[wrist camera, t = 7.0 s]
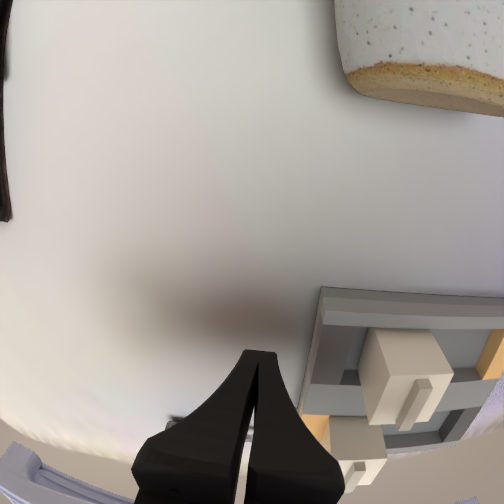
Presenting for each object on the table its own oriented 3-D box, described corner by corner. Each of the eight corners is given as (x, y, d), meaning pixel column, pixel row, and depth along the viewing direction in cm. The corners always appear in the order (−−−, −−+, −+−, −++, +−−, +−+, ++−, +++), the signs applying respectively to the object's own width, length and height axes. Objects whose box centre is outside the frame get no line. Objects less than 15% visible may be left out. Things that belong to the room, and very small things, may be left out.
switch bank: (510, 298, 14) (528, 316, 12) (446, 424, 18) (454, 445, 16) (321, 286, 15) (325, 310, 13) (292, 429, 19) (291, 454, 17)
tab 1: (376, 405, 16) (389, 467, 12) (362, 434, 18) (370, 492, 13) (327, 404, 17) (332, 470, 12) (317, 434, 18) (319, 494, 14)
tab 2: (425, 321, 14) (459, 382, 10) (408, 367, 15) (431, 430, 11) (370, 319, 14) (393, 386, 10) (357, 367, 16) (370, 435, 11)
